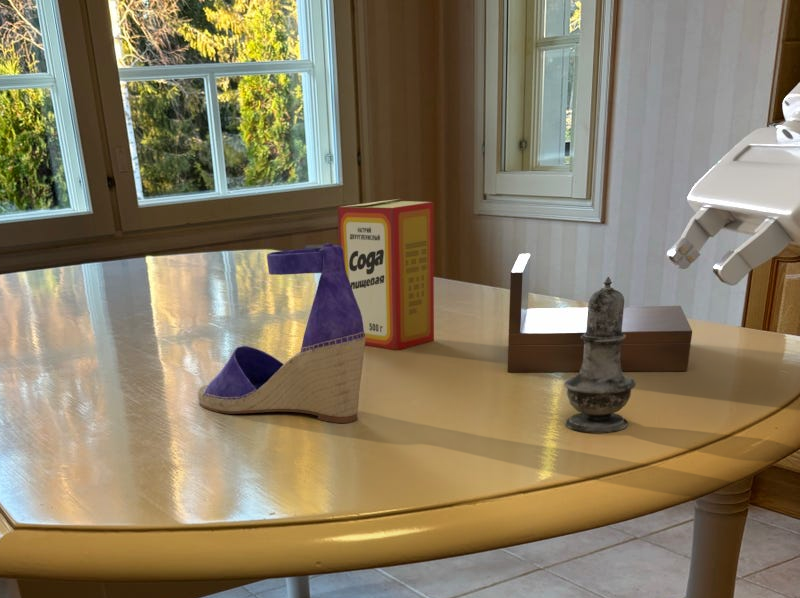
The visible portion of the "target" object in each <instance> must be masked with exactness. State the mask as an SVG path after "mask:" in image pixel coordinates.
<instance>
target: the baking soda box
mask: <svg viewBox="0 0 800 598" xmlns="http://www.w3.org/2000/svg"><path fill="white" fill-rule="evenodd" d="M398 200H399V198H397V199H395V201H394V199H389V200H379V201H372V202H365V203H357V204H349V205H343V206H337V207H336V208H337V209H336V211H337V228H338V229H337V230H338V246H341V247H342V248H343V254H344V263H345V269H346V273H347V276H348V279H349V282H350V285H351V288H352V291H353V294H354V296H355V299H356V301H357V304H358V306H359V309H360V312H361V315H362V320H363V328H364V332H365V338H366V340H365V346H367V347H375V348H381V349H385V350H393V351H399V350H403V349H407V348H411V347H414V346H418V345H422V344H426V343H429V342H430V343H431V342H434V341H435V289H434V288H435V285H434V284H435V283H434V281H435V278H434V274H435V272H434V269H435V268H434V267H435V263H434V255H435V254H434V248H435V247H434V202H433V201H412V200H411V201H409V200H400V201H398Z"/></svg>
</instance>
